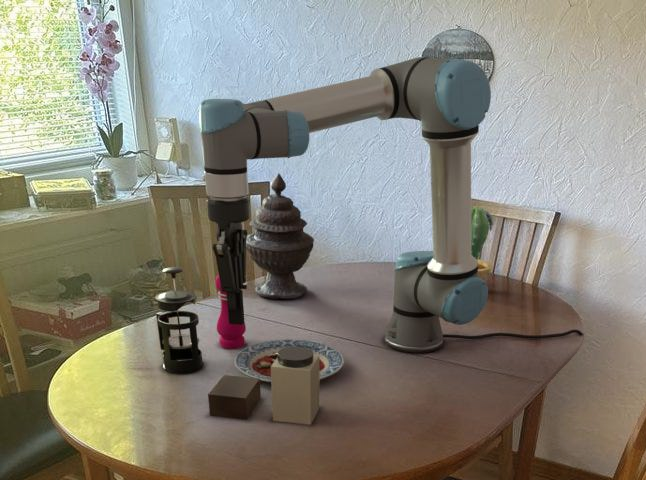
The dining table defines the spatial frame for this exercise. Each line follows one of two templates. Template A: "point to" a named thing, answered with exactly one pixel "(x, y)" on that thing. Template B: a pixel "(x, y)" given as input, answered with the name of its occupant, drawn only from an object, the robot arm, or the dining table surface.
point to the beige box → (295, 385)
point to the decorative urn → (279, 244)
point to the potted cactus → (480, 237)
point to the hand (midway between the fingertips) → (236, 323)
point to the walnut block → (234, 397)
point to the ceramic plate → (264, 354)
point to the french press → (179, 348)
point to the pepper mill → (228, 332)
